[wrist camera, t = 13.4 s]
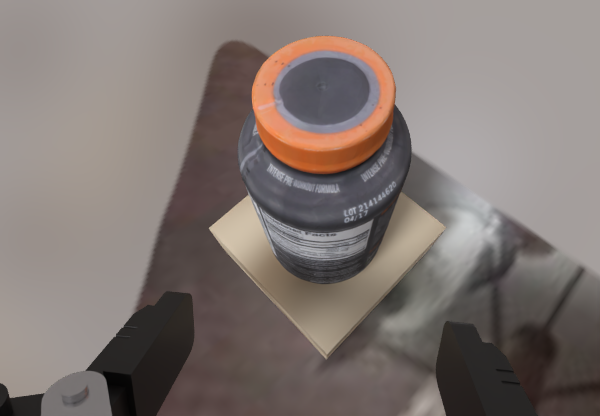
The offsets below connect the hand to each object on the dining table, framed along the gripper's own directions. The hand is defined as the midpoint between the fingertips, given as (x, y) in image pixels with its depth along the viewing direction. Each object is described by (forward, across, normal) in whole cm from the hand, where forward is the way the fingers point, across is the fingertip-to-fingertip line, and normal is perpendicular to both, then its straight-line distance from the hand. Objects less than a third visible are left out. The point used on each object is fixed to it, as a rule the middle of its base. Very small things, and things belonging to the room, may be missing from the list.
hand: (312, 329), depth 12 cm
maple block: (+12, 0, +3) cm, 12 cm away
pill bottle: (+9, 0, +1) cm, 9 cm away
